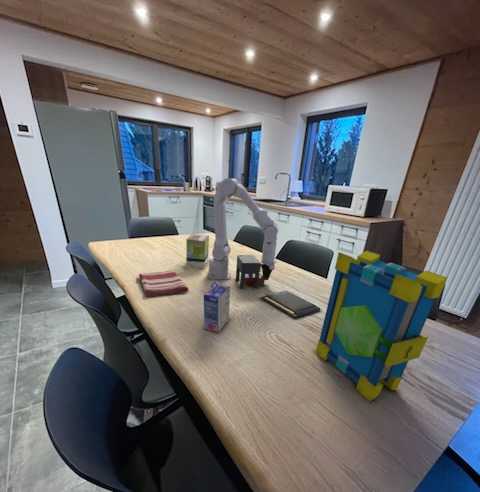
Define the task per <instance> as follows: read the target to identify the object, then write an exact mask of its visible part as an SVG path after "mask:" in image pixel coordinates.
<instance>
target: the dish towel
mask: <svg viewBox="0 0 480 492" xmlns="http://www.w3.org/2000/svg"><path fill="white" fill-rule="evenodd" d="M138 277H139V281H140V283H141V285H142V289H143V290H144V293H145V296H146V297H147V298H148V297H155V296H165V295H173V294H179V293H186V292H188V291H189V287H188V286H187V285H186V284H185V283H184V281H183V280H182V279H181V277H180V276H179V274H178V273H176V272H175V271H174V270H165V271H156V272H139V273H138Z"/></svg>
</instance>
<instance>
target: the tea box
mask: <svg viewBox="0 0 480 492" xmlns="http://www.w3.org/2000/svg"><path fill="white" fill-rule="evenodd" d="M185 241H186V246H185V247H186V249H185V251H186V252H185V253H186V257H185V259H186V262H185V263H186V266H185V267H186V268H193V269H194V268H195V269H205V268H206V266H207V264H208V263H209V251H210V250H209V247H210V244H209V243H210V235H205V234H197V233H196V234H195V233H192V234H190V235H189V236H188V238H186V239H185Z"/></svg>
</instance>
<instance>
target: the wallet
mask: <svg viewBox="0 0 480 492" xmlns="http://www.w3.org/2000/svg"><path fill="white" fill-rule="evenodd" d="M259 298H260V300H261V301H264V302H265V303H267V304H269V305H270V306H272V307H274V308H276V309H277V310H278V311H280V312H283V313H284V314H286V315H288V316H289V317H291V318H292V319H298V318H301V317H305V316H308V315H311V314H314V313H318V312H319V311H321V307H319V306H317V304H314V303H312V302H310V301H308V300H306V299H305V298H303V297H301V296H298V295H296V294H294V293H292V292H291V291H288V290H282V291H278V292H274V293H271V294H266V295H263V296H260V297H259Z"/></svg>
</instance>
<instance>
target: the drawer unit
mask: <svg viewBox="0 0 480 492" xmlns="http://www.w3.org/2000/svg"><path fill="white" fill-rule="evenodd" d="M261 264H262V262H261V261H260V260H259V259H258V258H257V257H256V256H255V255H254V254H237V256H236V270H235V280H236V281H240V282H239V289H240V290H243V289H245V285H244V279H245V274H255V281H254V286H253V288H254V289H255V290H256V289H259V286H258V282H259V274H260V273H261V271H262V268H261Z"/></svg>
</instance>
